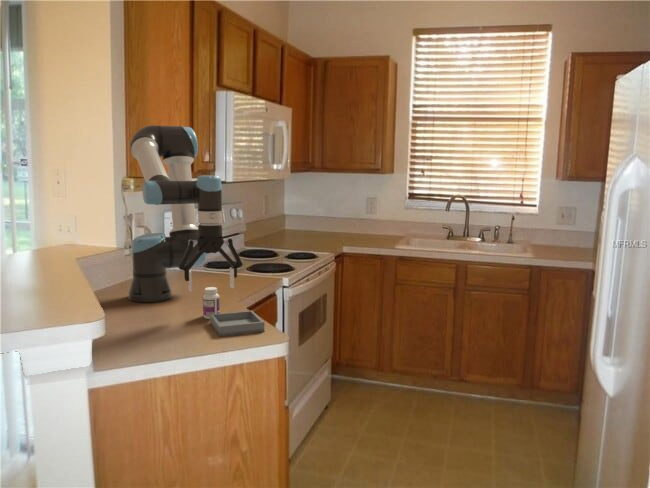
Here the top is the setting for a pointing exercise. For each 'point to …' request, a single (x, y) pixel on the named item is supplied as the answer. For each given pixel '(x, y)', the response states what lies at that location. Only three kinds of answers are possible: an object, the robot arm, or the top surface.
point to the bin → (236, 323)
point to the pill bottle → (211, 302)
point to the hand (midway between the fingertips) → (211, 289)
